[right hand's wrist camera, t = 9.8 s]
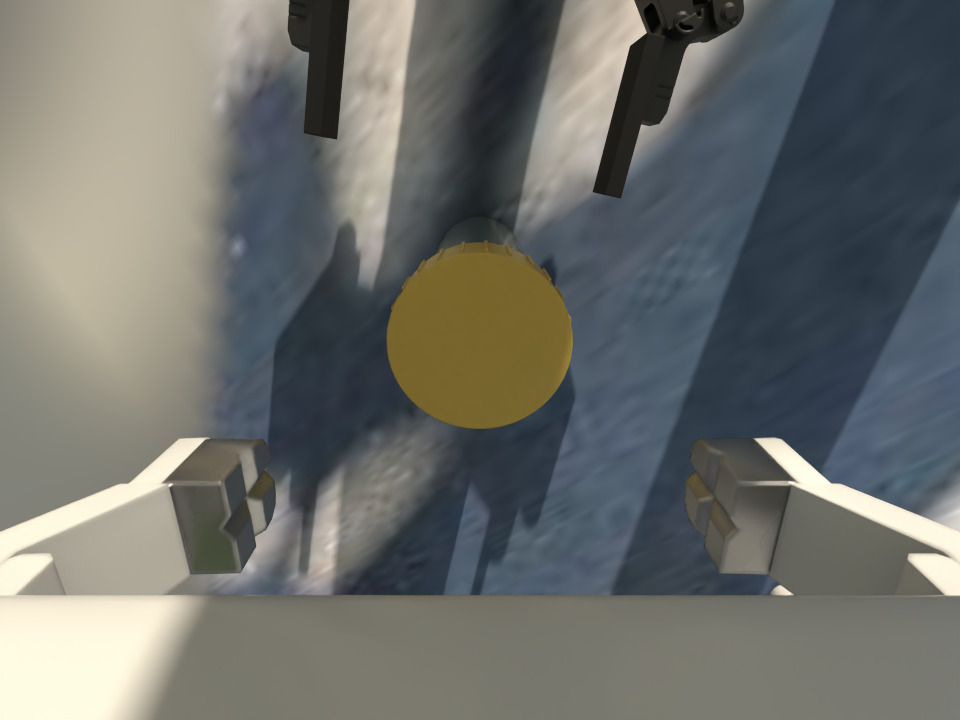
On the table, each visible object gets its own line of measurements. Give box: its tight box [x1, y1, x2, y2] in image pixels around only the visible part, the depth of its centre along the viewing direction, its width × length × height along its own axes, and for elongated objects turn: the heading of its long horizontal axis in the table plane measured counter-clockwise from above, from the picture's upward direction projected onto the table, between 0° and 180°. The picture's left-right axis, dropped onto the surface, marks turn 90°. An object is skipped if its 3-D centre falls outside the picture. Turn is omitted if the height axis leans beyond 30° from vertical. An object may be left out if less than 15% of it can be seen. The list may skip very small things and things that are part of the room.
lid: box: [387, 240, 573, 429], centre depth 18 cm, size 6×6×2 cm
